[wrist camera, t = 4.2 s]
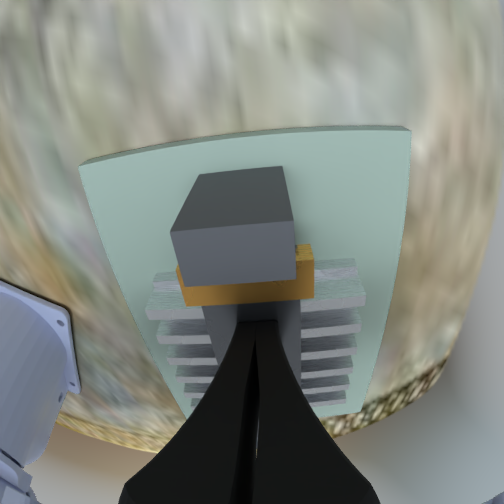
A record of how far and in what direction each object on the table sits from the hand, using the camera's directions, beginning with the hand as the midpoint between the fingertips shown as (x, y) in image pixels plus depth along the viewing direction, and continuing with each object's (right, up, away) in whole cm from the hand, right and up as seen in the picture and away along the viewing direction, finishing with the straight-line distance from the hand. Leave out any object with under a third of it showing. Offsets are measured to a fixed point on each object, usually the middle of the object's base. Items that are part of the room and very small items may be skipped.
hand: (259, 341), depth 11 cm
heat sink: (0, 0, +4) cm, 4 cm away
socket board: (0, 0, +4) cm, 4 cm away
